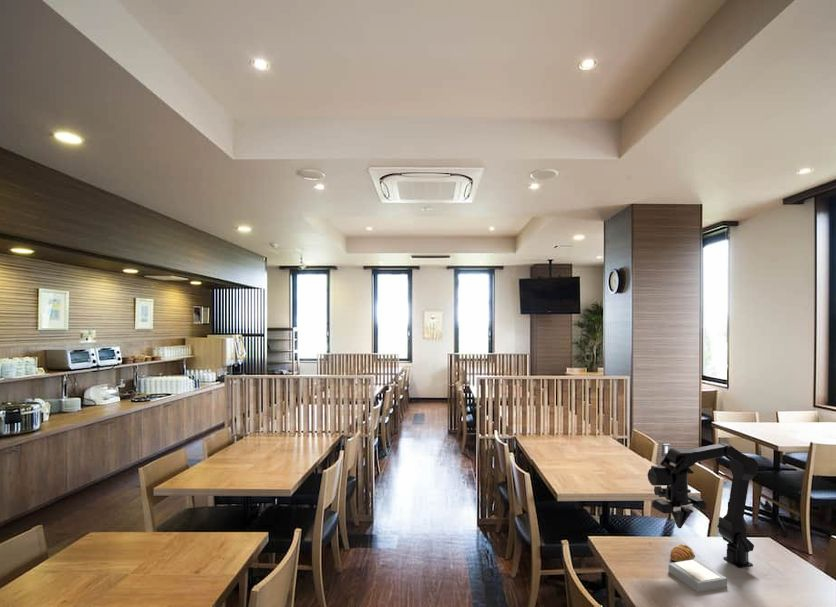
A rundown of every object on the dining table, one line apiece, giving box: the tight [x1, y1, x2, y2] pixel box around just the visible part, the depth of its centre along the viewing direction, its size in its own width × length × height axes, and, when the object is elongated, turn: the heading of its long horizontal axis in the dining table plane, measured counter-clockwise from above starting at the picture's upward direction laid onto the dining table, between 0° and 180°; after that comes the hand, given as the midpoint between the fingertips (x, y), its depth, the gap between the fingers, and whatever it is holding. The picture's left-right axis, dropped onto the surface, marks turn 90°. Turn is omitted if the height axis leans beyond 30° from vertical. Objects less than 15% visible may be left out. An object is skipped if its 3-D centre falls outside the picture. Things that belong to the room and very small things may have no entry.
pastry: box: [669, 544, 696, 562], centre depth 163 cm, size 9×7×4 cm
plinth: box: [668, 558, 728, 593], centre depth 151 cm, size 12×12×3 cm
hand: (679, 527), depth 161 cm, fingers closed
